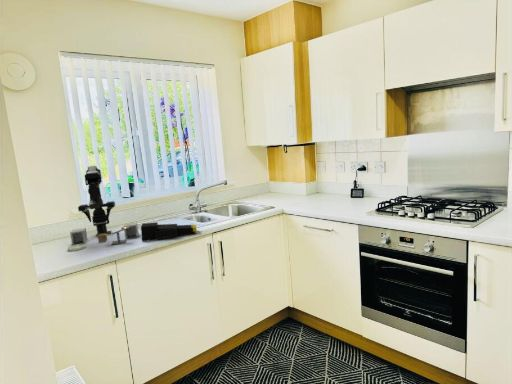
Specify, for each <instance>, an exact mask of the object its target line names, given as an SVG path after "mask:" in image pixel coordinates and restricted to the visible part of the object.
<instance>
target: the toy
mask: <svg viewBox="0 0 512 384" xmlns="http://www.w3.org/2000/svg"><path fill="white" fill-rule="evenodd" d="M140 231H141V241H142V242H147V240H149V241H156V240H155V239H157V240H160V239H167V238H171V237H177V236H193V235H197V224H182V225H178V223H163V224H160V223H159V224H158V222H157V221H156V222H147V223H145V222H143V223H142V224H141V226H140Z"/></svg>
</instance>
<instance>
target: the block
mask: <svg viewBox="0 0 512 384" xmlns="http://www.w3.org/2000/svg"><path fill="white" fill-rule="evenodd" d="M105 234H106V233H103V234H99V235H98V236H97V240H98V241H97V242H98V243H105V242H107V241H108V236H106V235H105Z"/></svg>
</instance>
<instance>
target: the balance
mask: <svg viewBox="0 0 512 384" xmlns="http://www.w3.org/2000/svg"><path fill="white" fill-rule="evenodd" d="M128 228H130V227H129V226H126V227H124V226H122V227H121V228H120V229H119V230H117V231H115V232H112V230H107V234H105V235H106V236H107V237H108V236H113V235H115V234H116V240H114V241H112V243H111V246H115V245H123V244H124V245H125V244H126V242H127V239H121V236H120V232H122V231H124V230H125V229H128Z"/></svg>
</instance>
